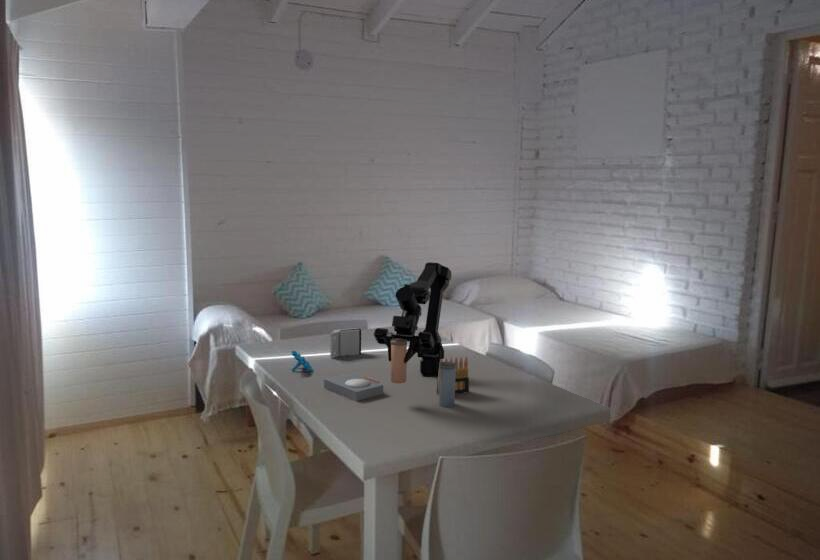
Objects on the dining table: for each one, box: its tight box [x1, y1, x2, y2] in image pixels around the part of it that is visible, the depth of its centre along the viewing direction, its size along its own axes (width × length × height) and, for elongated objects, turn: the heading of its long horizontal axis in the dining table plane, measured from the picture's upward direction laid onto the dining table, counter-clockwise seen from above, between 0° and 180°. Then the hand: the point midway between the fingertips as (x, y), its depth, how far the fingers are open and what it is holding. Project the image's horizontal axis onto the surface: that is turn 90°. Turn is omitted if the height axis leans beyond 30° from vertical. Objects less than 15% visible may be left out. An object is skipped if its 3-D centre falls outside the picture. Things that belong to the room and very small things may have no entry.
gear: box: [290, 350, 314, 372], centre depth 241 cm, size 11×6×10 cm
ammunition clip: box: [436, 356, 470, 396], centre depth 218 cm, size 11×2×12 cm, turn 110°
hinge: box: [329, 327, 362, 359], centre depth 263 cm, size 14×5×10 cm, turn 123°
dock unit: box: [323, 372, 384, 402], centre depth 219 cm, size 12×18×4 cm, turn 42°
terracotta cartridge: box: [390, 338, 408, 384], centre depth 207 cm, size 5×5×13 cm
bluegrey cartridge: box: [438, 361, 456, 408], centre depth 206 cm, size 5×5×13 cm
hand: (397, 361), depth 205 cm, fingers closed on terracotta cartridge, 5 cm apart
